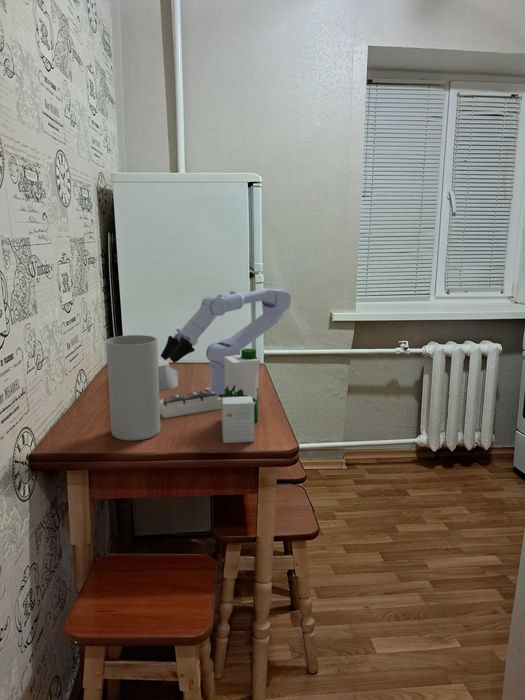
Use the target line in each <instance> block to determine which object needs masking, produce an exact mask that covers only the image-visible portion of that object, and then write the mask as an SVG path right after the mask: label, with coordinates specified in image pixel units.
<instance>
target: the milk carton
mask: <svg viewBox="0 0 525 700" xmlns="http://www.w3.org/2000/svg"><path fill="white" fill-rule="evenodd" d="M260 362H261V360H260V359H259V358H257V350H256V349H254V348H243V349H241V350H240V355H233V356H227V357H224V365H225V394H224V397H246V396H252V399H253V402H254V423H258V422H259V370H260Z"/></svg>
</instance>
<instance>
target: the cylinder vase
mask: <svg viewBox="0 0 525 700" xmlns="http://www.w3.org/2000/svg"><path fill="white" fill-rule="evenodd" d="M105 342H106V346H105V347H106V359H107V374H108V375H107V377H108V394H109V395H108V396H109V408H110V409H109V411H110V412H109V413H110V427H111V431H110V432H111V434H112V436H113V437H114V438H116V439H117V440H122V441H127V442H128V441H129V442H131V441H132V442H135V441H142V440H148V439H150V438H152V437H155V436H157V435H158V433H160V431H161V414H160V404H159V400H160V391H159V377H158V360H159V359H158V358H159V355H158V338H157V337H155V336H152V335H147V334H146V335H144V334H130V335H128V334H127V335H119V336H114V337H110V338H107V339H106V340H105Z"/></svg>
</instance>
